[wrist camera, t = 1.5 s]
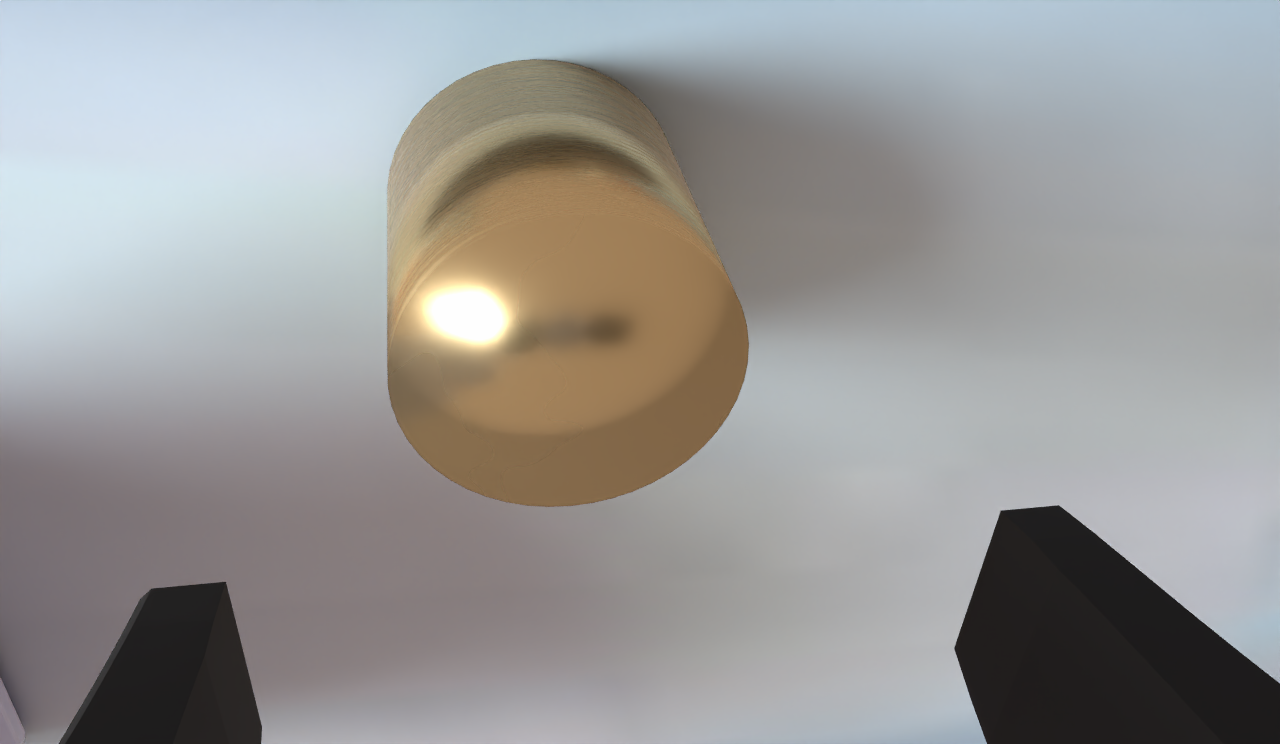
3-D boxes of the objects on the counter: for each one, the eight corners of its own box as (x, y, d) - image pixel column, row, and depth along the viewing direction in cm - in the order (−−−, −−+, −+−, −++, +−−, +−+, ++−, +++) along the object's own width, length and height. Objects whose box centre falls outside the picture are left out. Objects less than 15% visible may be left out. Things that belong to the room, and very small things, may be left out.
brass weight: (666, 309, 19) (730, 491, 15) (398, 324, 18) (402, 520, 15) (685, 56, 16) (769, 206, 13) (374, 62, 15) (370, 222, 12)
